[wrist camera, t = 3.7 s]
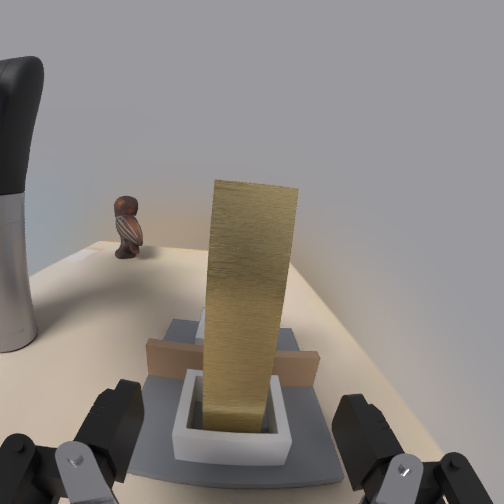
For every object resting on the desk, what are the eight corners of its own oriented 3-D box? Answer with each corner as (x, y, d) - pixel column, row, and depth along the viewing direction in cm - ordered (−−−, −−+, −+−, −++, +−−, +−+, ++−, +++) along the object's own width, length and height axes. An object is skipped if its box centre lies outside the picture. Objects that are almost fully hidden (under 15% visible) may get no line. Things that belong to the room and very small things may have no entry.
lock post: (257, 447, 17) (298, 188, 13) (202, 444, 17) (214, 179, 13) (254, 413, 21) (285, 188, 17) (206, 409, 21) (220, 181, 17)
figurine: (148, 260, 62) (150, 194, 60) (126, 262, 59) (128, 193, 57) (128, 253, 71) (130, 196, 69) (110, 254, 67) (111, 196, 65)
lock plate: (341, 481, 14) (361, 449, 14) (115, 469, 13) (100, 434, 12) (290, 333, 38) (295, 305, 37) (173, 324, 37) (173, 294, 36)
